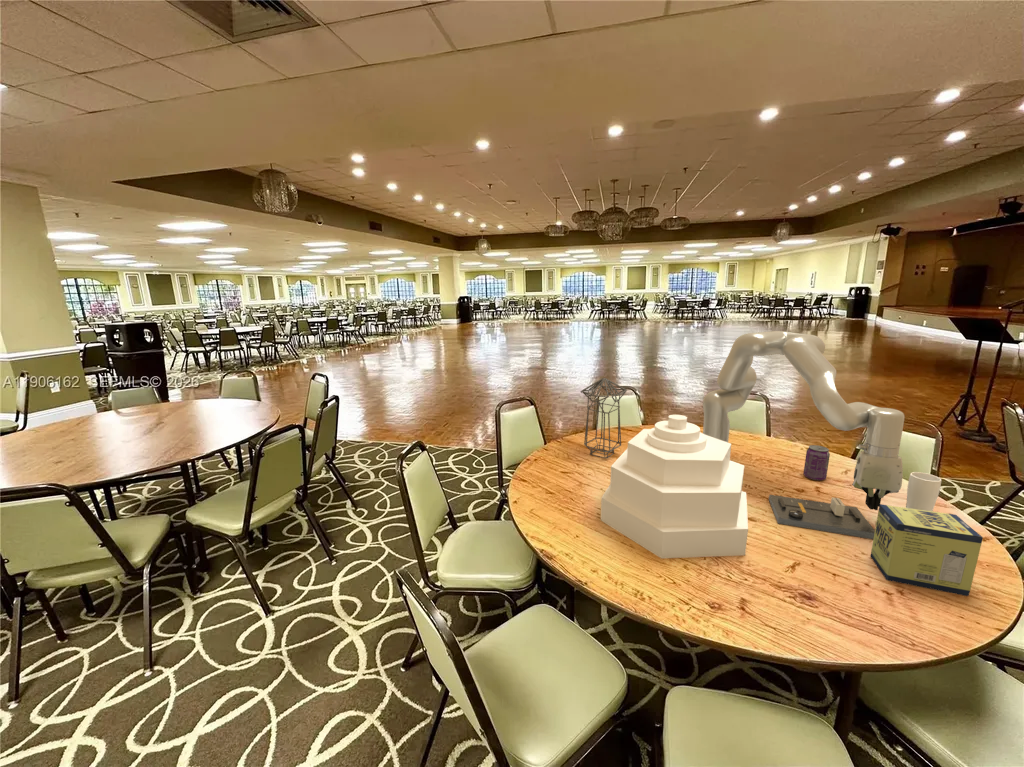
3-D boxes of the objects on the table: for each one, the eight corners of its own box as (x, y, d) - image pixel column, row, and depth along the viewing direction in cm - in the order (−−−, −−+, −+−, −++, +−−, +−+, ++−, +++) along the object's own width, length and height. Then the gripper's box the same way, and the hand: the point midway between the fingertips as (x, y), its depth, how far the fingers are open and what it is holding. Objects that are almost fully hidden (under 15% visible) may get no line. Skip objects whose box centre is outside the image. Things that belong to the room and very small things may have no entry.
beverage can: (818, 473, 160) (822, 444, 158) (830, 482, 153) (835, 451, 151) (799, 473, 161) (803, 444, 158) (810, 481, 154) (814, 451, 151)
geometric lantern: (626, 453, 184) (629, 377, 176) (608, 465, 173) (611, 384, 165) (595, 444, 195) (597, 372, 186) (576, 455, 184) (578, 379, 175)
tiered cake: (641, 475, 162) (646, 392, 154) (772, 517, 130) (785, 416, 123) (573, 518, 132) (575, 418, 124) (722, 586, 100) (735, 457, 93)
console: (777, 523, 126) (779, 513, 126) (768, 499, 141) (769, 491, 140) (876, 539, 117) (878, 529, 117) (855, 512, 132) (857, 503, 131)
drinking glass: (923, 518, 128) (933, 473, 125) (937, 529, 122) (947, 482, 119) (896, 514, 130) (905, 470, 127) (908, 525, 124) (918, 479, 121)
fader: (835, 515, 126) (836, 504, 125) (830, 507, 131) (831, 497, 130) (843, 516, 125) (845, 505, 125) (837, 508, 130) (839, 498, 129)
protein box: (868, 556, 110) (878, 503, 107) (945, 569, 104) (958, 514, 101) (885, 580, 101) (896, 523, 98) (970, 597, 95) (985, 536, 92)
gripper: (854, 451, 120) (845, 509, 123) (920, 457, 114) (910, 518, 118) (845, 443, 127) (837, 498, 130) (907, 448, 121) (897, 506, 124)
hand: (871, 507), depth 124 cm, fingers closed
